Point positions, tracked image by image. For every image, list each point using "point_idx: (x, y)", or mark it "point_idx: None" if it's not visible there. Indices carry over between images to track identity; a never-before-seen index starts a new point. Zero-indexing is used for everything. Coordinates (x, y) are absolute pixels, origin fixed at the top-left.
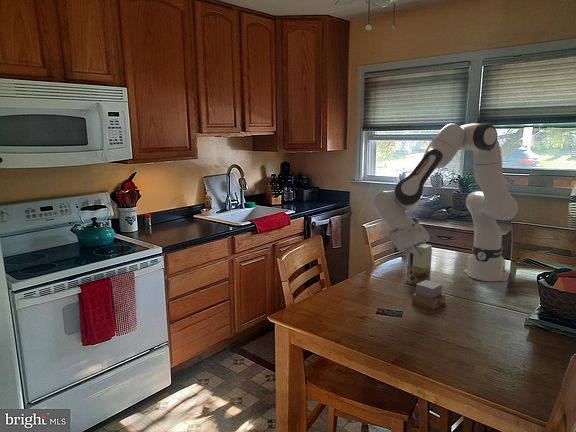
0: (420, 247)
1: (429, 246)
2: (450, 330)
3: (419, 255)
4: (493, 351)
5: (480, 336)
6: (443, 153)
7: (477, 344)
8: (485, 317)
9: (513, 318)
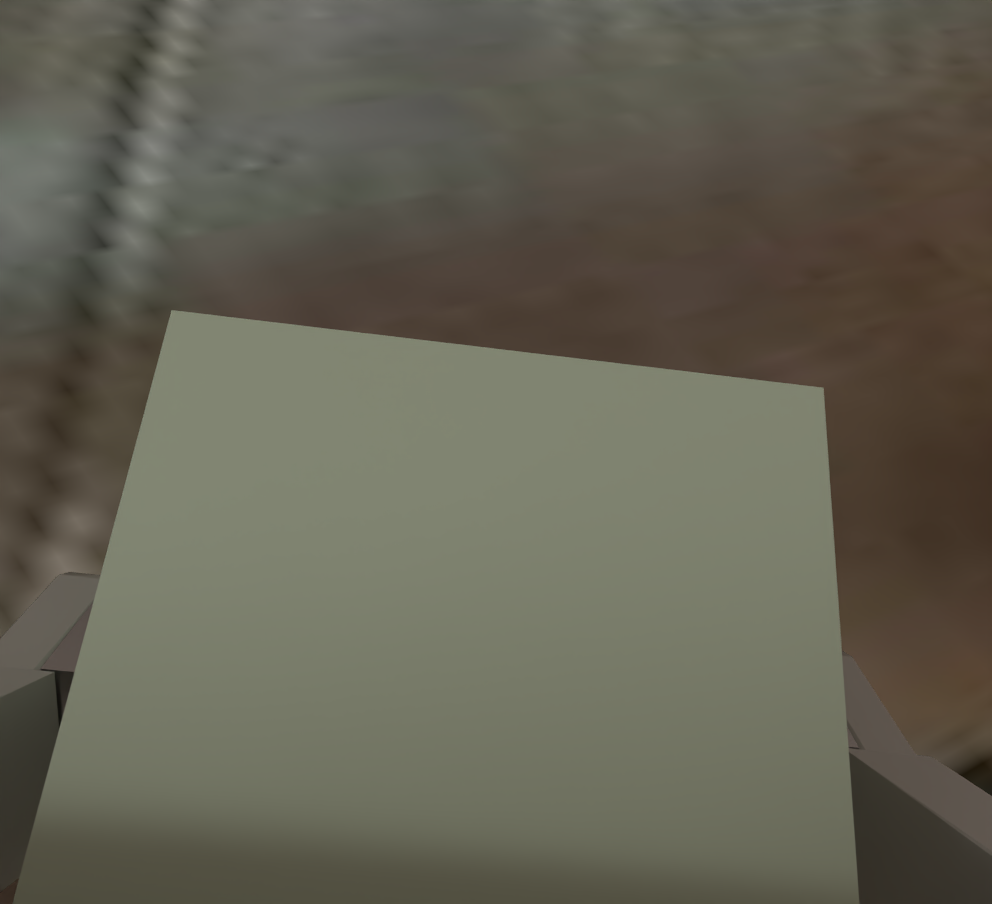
0: (829, 658)
1: (416, 341)
2: (888, 299)
3: (845, 667)
4: (946, 39)
5: (812, 124)
6: None
7: (938, 118)
8: (451, 152)
9: (336, 6)
